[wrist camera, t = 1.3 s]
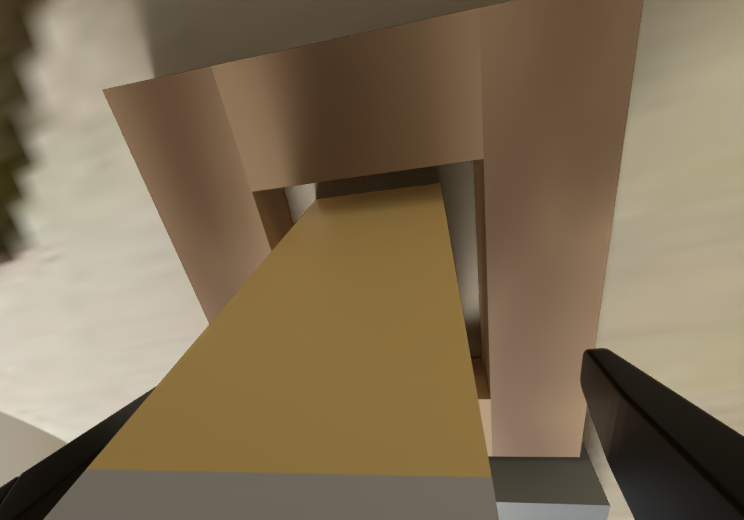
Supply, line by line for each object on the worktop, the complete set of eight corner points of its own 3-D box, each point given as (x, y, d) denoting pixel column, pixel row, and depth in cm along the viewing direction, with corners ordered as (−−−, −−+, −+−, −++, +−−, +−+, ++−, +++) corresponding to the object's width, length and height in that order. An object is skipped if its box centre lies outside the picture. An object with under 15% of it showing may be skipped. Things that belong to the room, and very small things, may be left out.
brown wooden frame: (599, -7, 8) (647, -30, 7) (560, 410, 14) (579, 457, 13) (155, 87, 10) (102, 90, 9) (285, 414, 17) (269, 454, 15)
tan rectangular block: (440, 182, 11) (522, 650, 2) (453, 337, 13) (513, 835, 5) (315, 199, 12) (-21, 594, 3) (351, 342, 14) (236, 779, 5)
